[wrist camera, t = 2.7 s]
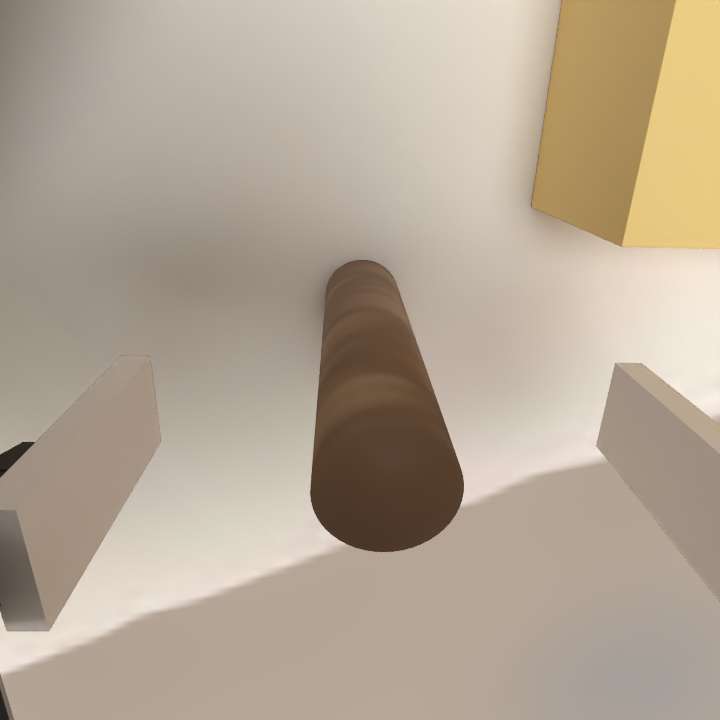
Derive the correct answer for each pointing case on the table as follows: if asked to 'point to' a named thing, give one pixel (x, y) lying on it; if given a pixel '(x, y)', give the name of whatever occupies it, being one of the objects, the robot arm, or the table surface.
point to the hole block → (634, 123)
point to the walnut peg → (378, 422)
